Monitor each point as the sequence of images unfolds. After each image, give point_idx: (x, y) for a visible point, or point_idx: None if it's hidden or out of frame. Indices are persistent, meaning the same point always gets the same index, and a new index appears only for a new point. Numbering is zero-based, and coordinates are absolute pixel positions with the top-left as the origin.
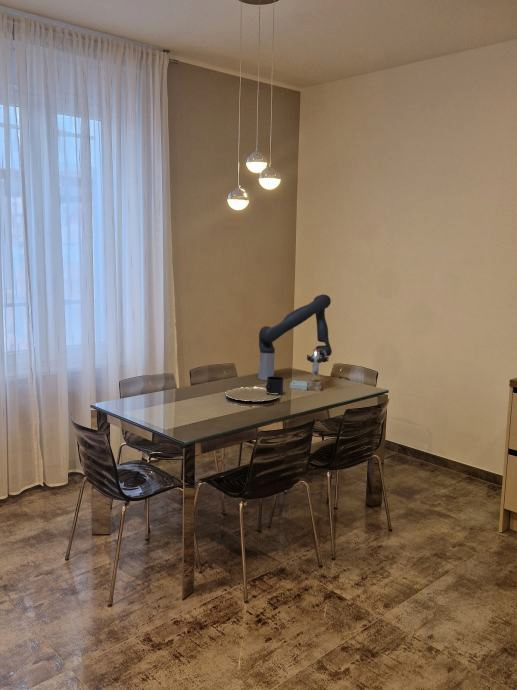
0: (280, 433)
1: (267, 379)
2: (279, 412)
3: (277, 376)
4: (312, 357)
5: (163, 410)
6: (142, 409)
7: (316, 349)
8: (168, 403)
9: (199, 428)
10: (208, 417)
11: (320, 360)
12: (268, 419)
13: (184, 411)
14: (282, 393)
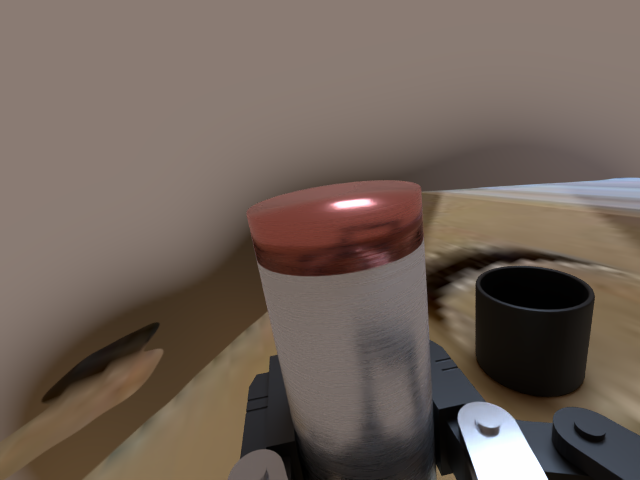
0: None
1: (549, 274)
2: None
3: (567, 309)
4: (477, 418)
5: (535, 199)
6: (564, 192)
7: (337, 197)
8: (586, 207)
9: None
10: (442, 212)
11: (256, 381)
12: None
13: (504, 207)
14: (481, 366)
